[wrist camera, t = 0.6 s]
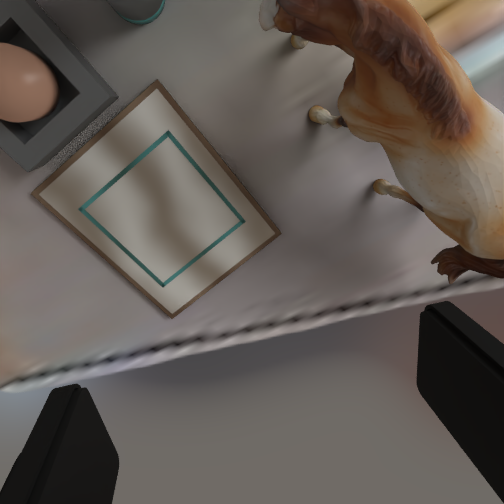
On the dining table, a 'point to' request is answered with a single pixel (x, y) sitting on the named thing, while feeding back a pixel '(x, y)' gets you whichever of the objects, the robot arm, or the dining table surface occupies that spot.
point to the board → (158, 203)
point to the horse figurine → (413, 119)
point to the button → (26, 85)
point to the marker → (138, 9)
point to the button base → (70, 82)
